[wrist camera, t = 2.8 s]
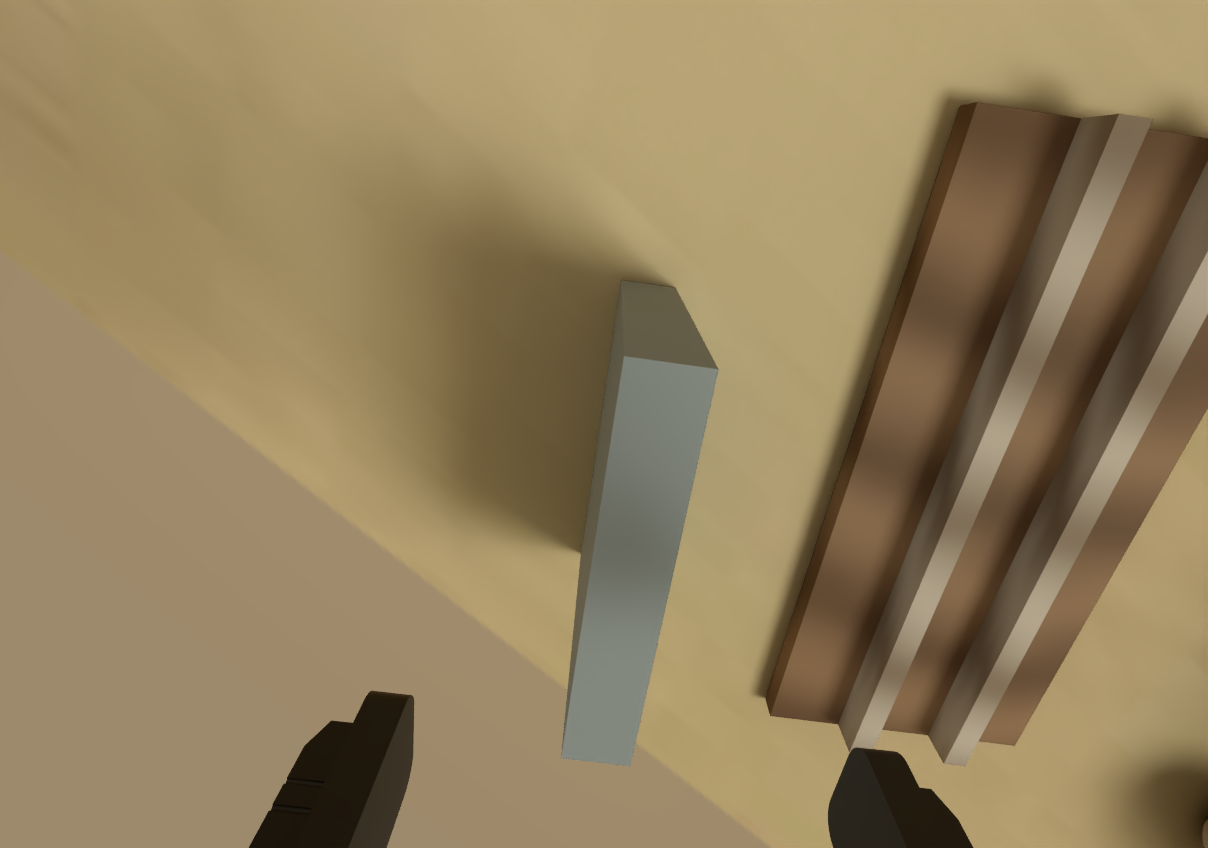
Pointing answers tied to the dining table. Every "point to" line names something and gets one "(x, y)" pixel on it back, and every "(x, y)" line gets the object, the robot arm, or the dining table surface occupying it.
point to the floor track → (1007, 428)
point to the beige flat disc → (1205, 834)
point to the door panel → (634, 516)
